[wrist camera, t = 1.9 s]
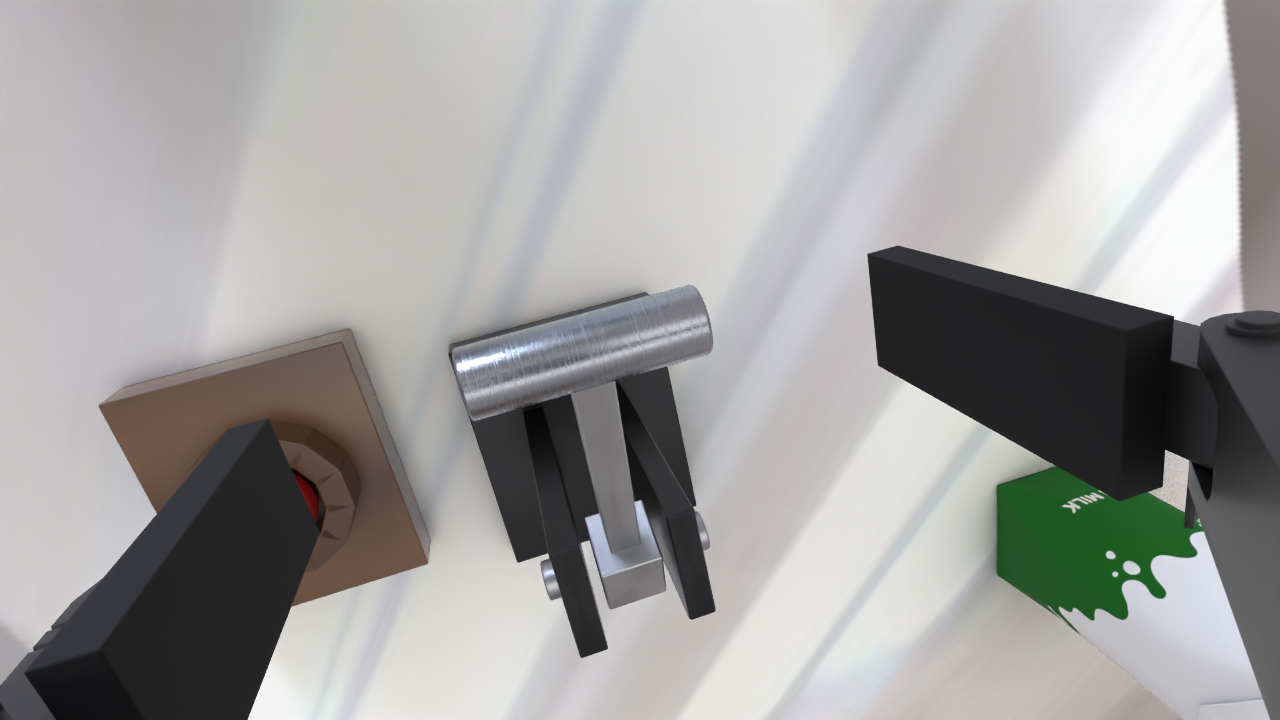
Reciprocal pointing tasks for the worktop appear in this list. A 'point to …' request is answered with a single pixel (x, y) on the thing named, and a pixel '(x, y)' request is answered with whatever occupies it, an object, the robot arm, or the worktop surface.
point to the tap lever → (594, 408)
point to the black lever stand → (563, 491)
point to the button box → (288, 449)
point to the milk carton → (1130, 589)
